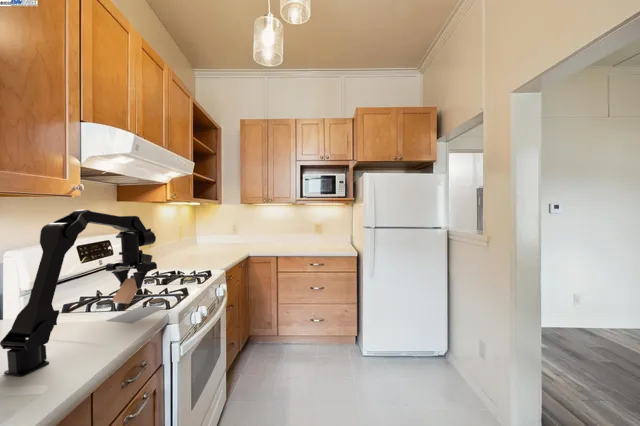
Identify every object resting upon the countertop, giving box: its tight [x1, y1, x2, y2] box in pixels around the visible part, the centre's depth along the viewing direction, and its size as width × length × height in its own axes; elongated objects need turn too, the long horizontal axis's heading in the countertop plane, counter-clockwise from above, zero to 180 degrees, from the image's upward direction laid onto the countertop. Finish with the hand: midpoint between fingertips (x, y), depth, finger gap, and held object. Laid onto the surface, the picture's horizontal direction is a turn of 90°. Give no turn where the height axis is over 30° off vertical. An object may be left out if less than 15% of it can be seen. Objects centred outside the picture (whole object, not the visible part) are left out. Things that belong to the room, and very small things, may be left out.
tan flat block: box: [111, 277, 139, 305], centre depth 110 cm, size 2×6×9 cm
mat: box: [106, 305, 166, 324], centre depth 114 cm, size 16×12×1 cm
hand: (132, 288), depth 112 cm, fingers closed on tan flat block, 6 cm apart
